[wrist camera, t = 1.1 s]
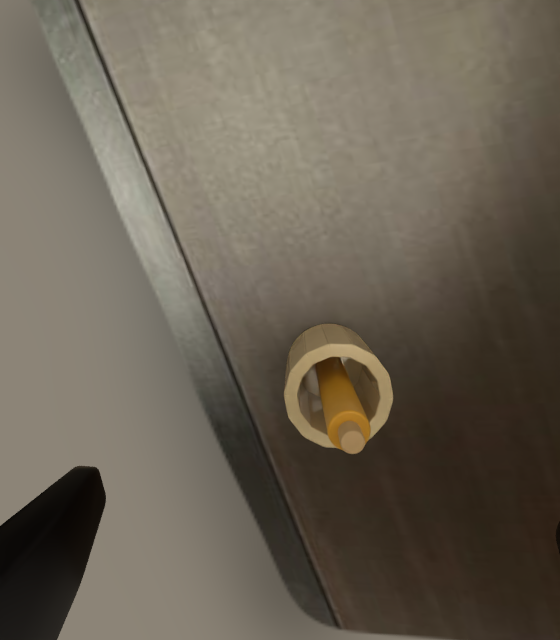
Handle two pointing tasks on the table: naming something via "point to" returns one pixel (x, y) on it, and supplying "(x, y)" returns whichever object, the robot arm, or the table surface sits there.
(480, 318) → the table surface
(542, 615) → the table surface
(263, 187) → the table surface
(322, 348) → the pencil cup
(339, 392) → the pencil
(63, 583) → the robot arm
